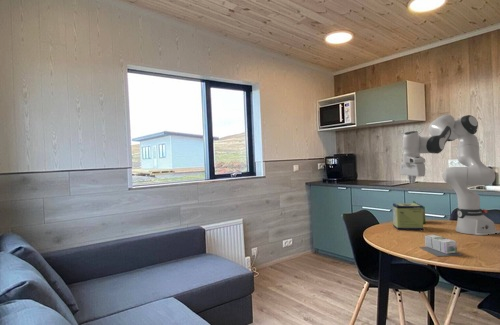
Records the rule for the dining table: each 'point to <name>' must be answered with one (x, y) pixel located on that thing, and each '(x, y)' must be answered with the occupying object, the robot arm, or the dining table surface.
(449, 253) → the mat
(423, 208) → the chalk box
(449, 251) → the syrup box
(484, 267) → the dining table surface
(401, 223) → the protein box
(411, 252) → the dining table surface
